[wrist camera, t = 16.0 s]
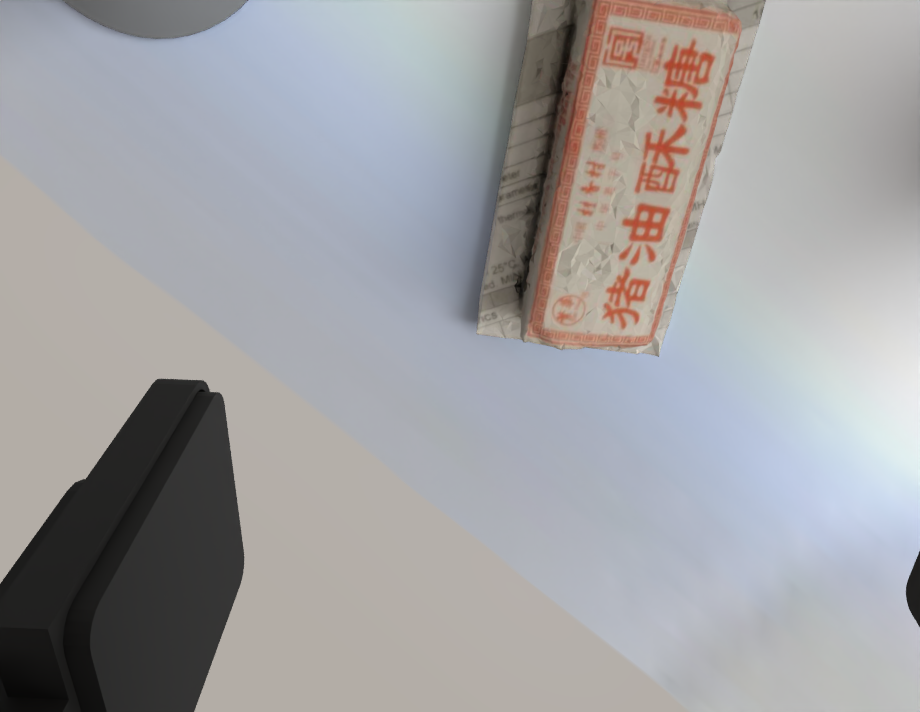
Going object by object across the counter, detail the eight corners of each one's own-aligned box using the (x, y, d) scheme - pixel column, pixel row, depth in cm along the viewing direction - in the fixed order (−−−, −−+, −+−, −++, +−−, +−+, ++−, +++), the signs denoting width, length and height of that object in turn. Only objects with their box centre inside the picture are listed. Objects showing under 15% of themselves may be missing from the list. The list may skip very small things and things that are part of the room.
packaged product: (544, -41, 31) (799, 0, 31) (537, -47, 35) (761, -10, 35) (473, 367, 39) (673, 394, 40) (474, 322, 44) (655, 347, 44)
